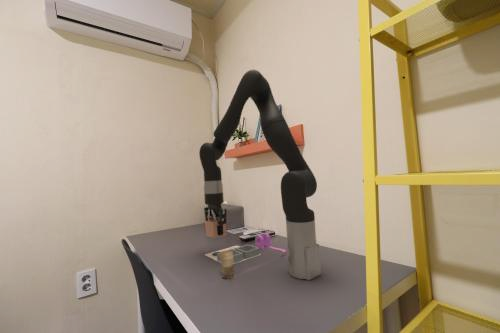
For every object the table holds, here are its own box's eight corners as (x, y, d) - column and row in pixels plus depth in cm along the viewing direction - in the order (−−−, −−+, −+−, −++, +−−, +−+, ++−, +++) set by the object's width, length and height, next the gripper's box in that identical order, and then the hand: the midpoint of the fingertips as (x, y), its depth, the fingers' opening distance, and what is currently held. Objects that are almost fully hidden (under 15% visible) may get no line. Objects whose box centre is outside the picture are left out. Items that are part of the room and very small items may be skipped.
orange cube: (226, 235, 93) (225, 219, 94) (213, 238, 89) (212, 222, 90) (218, 232, 98) (217, 218, 98) (206, 235, 94) (205, 220, 94)
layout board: (261, 258, 91) (261, 247, 91) (227, 270, 81) (226, 258, 81) (236, 248, 104) (236, 239, 104) (204, 258, 94) (204, 248, 94)
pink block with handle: (255, 251, 99) (254, 235, 100) (264, 248, 104) (263, 232, 104) (280, 257, 91) (279, 239, 91) (288, 253, 95) (287, 236, 95)
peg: (236, 276, 75) (235, 251, 76) (226, 280, 73) (224, 255, 73) (229, 273, 79) (228, 249, 79) (219, 276, 76) (218, 252, 76)
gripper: (231, 191, 91) (234, 234, 90) (213, 191, 102) (215, 229, 102) (214, 193, 87) (217, 238, 86) (197, 192, 98) (199, 233, 97)
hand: (216, 233), depth 94 cm, fingers closed on orange cube, 6 cm apart
